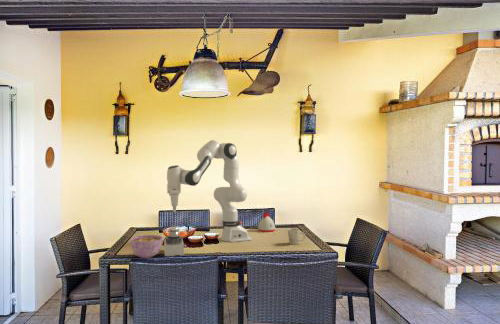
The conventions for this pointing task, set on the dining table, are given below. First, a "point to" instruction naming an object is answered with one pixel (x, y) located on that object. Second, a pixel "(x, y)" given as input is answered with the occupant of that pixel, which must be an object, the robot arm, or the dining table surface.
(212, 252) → the dining table surface
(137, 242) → the bowl of food
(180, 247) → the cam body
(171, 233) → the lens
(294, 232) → the mug
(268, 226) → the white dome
